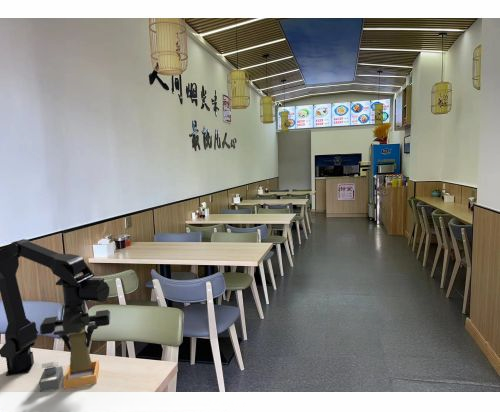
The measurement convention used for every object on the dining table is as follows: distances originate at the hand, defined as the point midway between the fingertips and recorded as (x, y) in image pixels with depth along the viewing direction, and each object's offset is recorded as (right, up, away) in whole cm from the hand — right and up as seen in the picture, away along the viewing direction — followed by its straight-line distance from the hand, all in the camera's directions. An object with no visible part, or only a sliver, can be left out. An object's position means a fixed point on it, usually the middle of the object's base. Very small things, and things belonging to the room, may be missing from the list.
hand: (79, 348), depth 116 cm
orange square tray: (0, -10, +1) cm, 10 cm away
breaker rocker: (-8, -5, -2) cm, 9 cm away
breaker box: (-8, -10, -1) cm, 13 cm away
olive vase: (0, -6, +1) cm, 6 cm away
